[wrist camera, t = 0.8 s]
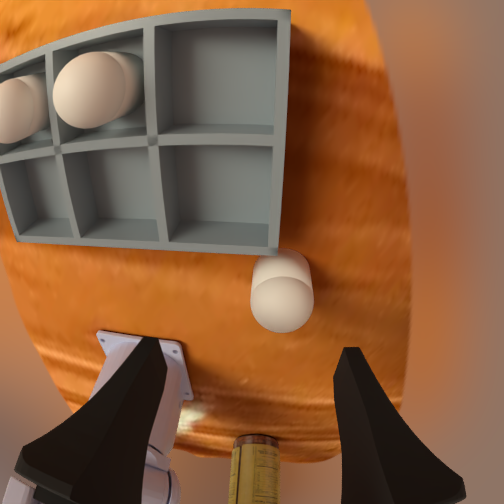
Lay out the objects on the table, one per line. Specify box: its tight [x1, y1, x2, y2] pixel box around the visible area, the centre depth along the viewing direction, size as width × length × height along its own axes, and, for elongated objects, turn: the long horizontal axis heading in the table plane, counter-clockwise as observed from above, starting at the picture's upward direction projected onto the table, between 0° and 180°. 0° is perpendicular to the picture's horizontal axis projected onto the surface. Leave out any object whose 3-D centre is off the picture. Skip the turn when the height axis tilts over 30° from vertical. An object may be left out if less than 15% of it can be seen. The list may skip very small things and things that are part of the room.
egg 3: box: [250, 248, 314, 333], centre depth 18 cm, size 4×4×5 cm
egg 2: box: [53, 52, 145, 129], centre depth 11 cm, size 4×4×5 cm
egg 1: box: [0, 72, 51, 144], centre depth 11 cm, size 4×4×5 cm
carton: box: [0, 8, 291, 256], centre depth 14 cm, size 12×17×3 cm
